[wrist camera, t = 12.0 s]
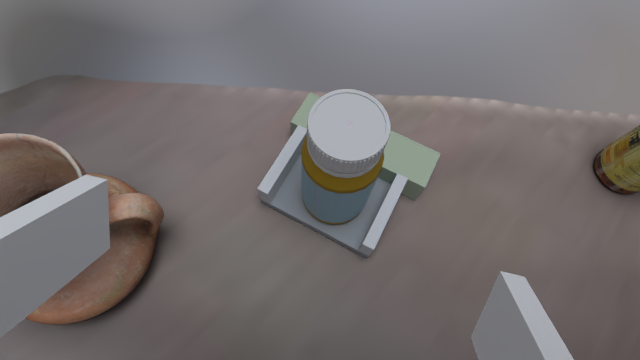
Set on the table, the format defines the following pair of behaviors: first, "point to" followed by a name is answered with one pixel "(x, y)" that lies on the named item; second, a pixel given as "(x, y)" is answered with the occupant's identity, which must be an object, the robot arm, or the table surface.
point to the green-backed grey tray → (394, 179)
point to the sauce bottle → (621, 163)
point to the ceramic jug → (124, 225)
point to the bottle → (342, 154)
